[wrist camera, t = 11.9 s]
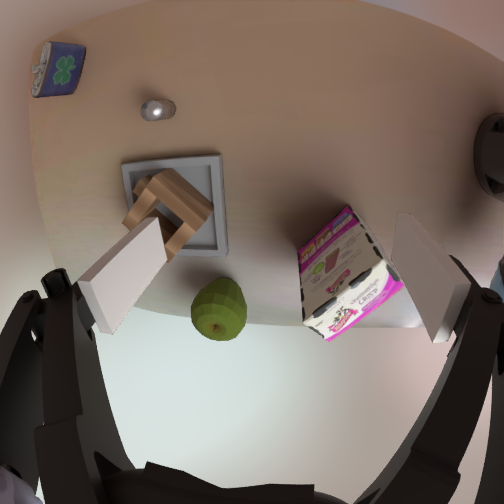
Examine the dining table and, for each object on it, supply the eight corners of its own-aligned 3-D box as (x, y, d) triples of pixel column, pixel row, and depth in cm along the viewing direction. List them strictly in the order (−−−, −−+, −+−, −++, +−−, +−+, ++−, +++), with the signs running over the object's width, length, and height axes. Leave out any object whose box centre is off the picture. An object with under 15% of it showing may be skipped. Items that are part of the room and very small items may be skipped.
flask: (78, 45, 29) (35, 40, 20) (90, 45, 29) (47, 39, 20) (65, 94, 34) (21, 99, 24) (76, 95, 34) (31, 100, 25)
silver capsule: (175, 99, 34) (159, 98, 29) (176, 117, 35) (160, 119, 31) (157, 102, 34) (140, 102, 30) (159, 120, 36) (141, 122, 31)
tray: (221, 154, 37) (218, 156, 36) (228, 251, 45) (226, 257, 43) (127, 162, 39) (121, 165, 37) (143, 248, 46) (138, 254, 45)
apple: (196, 268, 47) (174, 311, 37) (244, 260, 45) (232, 306, 35) (212, 307, 51) (197, 353, 41) (257, 302, 49) (249, 351, 39)
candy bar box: (317, 270, 45) (328, 345, 30) (296, 251, 43) (299, 323, 29) (369, 224, 40) (407, 287, 26) (349, 202, 39) (382, 258, 24)
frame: (161, 158, 38) (142, 166, 33) (215, 206, 41) (205, 221, 35) (131, 200, 42) (112, 214, 36) (181, 244, 44) (167, 263, 39)
